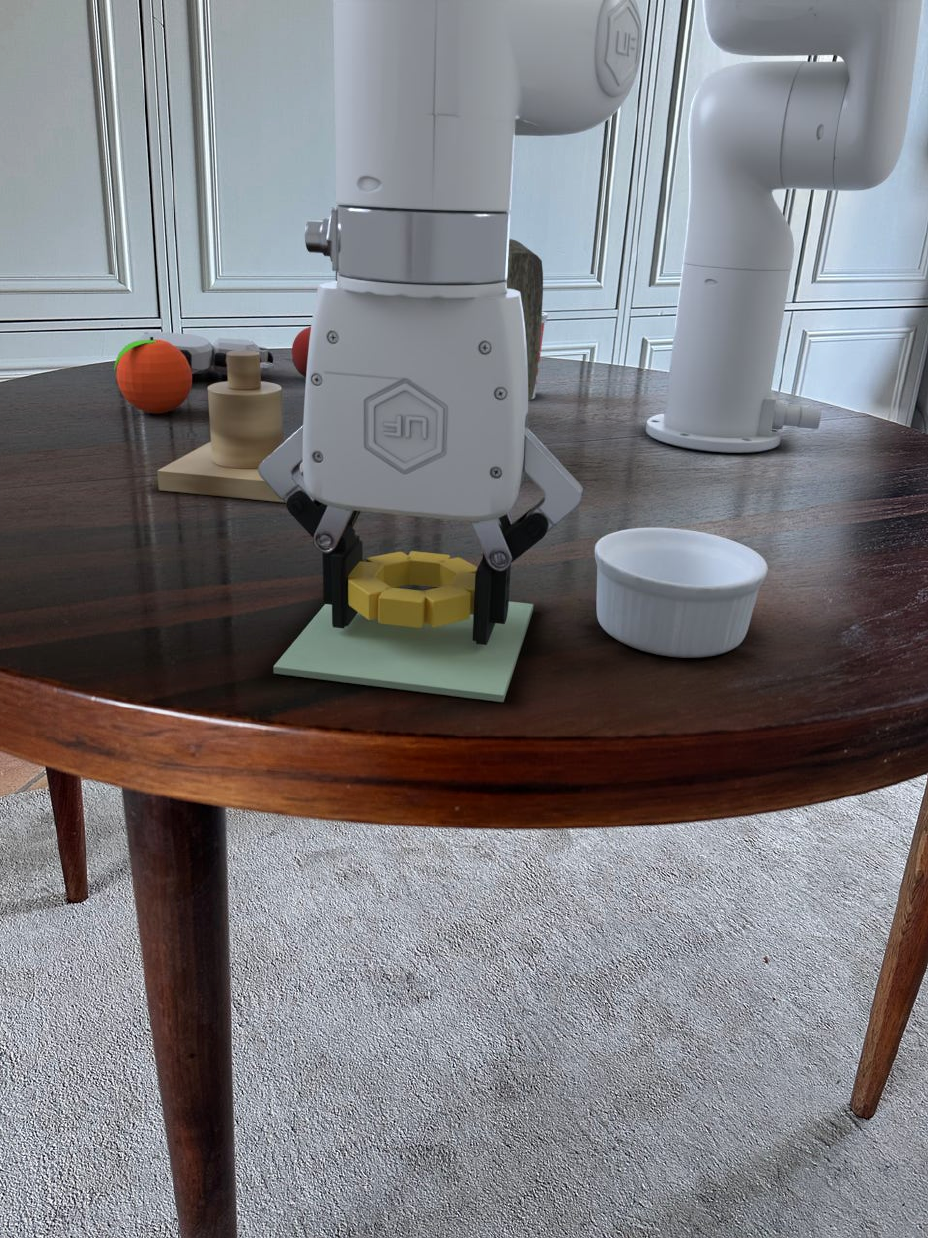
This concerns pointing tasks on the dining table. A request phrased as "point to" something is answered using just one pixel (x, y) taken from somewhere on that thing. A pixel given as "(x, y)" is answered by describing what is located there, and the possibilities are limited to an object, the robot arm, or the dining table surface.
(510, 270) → the tabletop clock
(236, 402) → the stand
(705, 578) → the ramekin
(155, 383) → the clementine
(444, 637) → the mat
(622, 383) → the dining table surface
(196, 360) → the robot toy
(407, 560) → the ring
